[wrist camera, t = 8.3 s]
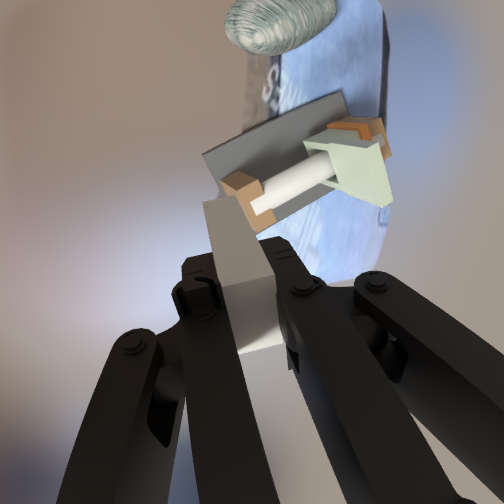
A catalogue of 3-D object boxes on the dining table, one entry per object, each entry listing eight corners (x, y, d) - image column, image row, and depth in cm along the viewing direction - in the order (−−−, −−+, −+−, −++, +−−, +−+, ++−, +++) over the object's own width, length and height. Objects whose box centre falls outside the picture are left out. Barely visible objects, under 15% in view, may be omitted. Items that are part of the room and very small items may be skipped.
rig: (201, 154, 36) (219, 160, 29) (334, 92, 38) (375, 89, 31) (243, 236, 42) (268, 262, 34) (360, 169, 44) (401, 180, 37)
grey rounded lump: (300, -38, 27) (344, -30, 21) (319, 19, 35) (361, 40, 29) (201, -2, 28) (222, 10, 23) (231, 55, 36) (257, 83, 31)
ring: (326, 125, 36) (359, 127, 30) (334, 121, 36) (366, 123, 30) (342, 171, 39) (374, 180, 33) (349, 167, 39) (382, 176, 33)
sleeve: (302, 139, 35) (366, 148, 25) (328, 126, 36) (396, 132, 25) (319, 184, 38) (382, 207, 28) (344, 170, 38) (409, 189, 28)
